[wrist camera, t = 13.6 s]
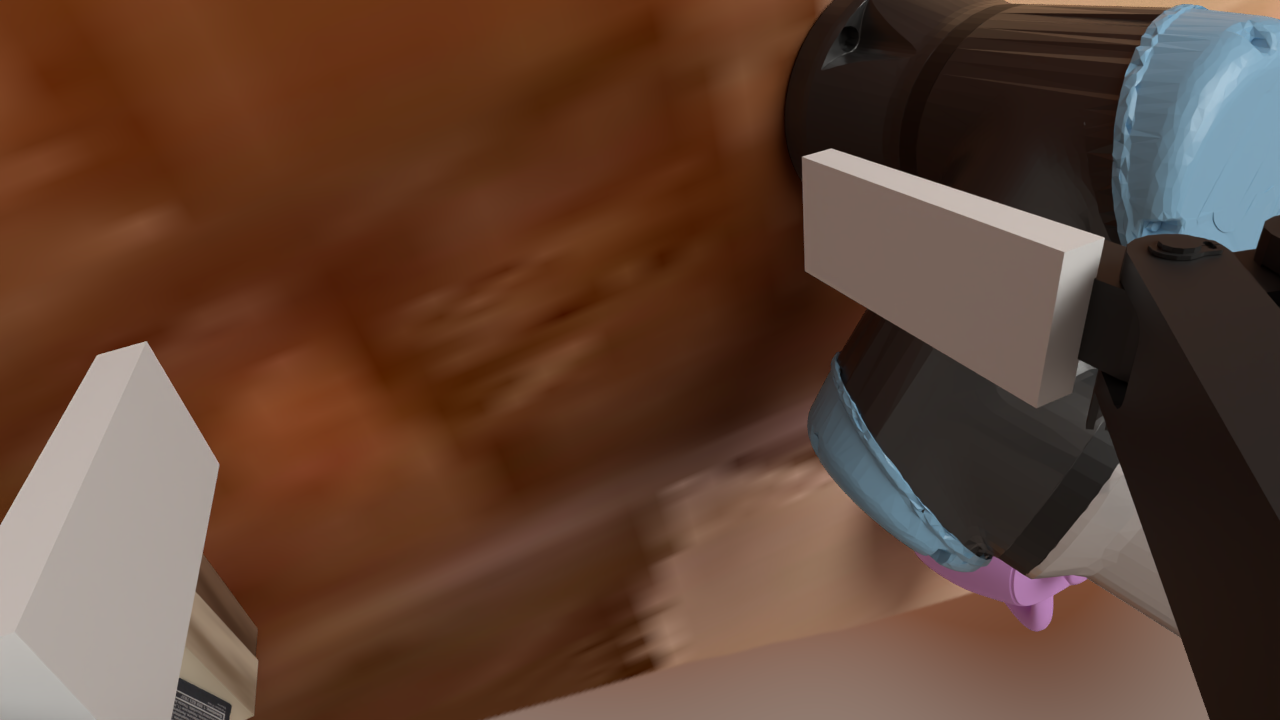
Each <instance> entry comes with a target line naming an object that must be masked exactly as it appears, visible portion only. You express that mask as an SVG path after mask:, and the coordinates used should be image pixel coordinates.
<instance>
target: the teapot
mask: <svg viewBox="0 0 1280 720" xmlns="http://www.w3.org/2000/svg"><path fill="white" fill-rule="evenodd" d="M914 552H915V553H916V555H917V556H918V557H919V558H920V559H921V560H922V561H923V562H924V563H925V564H926V565H927V566H928V567H929V568H931V569H932V570H934V571H935V572H936V573H938V574H939V575H941V576H943V577H944V578H946V579H947V580H949V581H951V582H952V583H954V584H956V585H958V586H960V587H962V588H964V589H966V590H969V591H971V592H974V593H977V594H979V595H983V596H986V597H989V598H992V599H995V600H998V601H1002V602H1005V604H1006V605H1007V606H1008V608H1009V609H1010V610H1011V612H1012V613H1013V614H1014V615H1015V616H1016V618H1017V619H1018V620H1019V621H1020V622H1021V623H1022V624H1023V625H1024V626H1026V627H1027V628H1028V629H1030V630H1033V631H1040V630H1043V629H1045V628H1046V627H1047V626H1048V625H1049V623H1050V621H1051V618H1052V614H1053V595H1055V594H1056V593H1058V592H1060V591H1061V590H1063V589H1065V588H1067V587H1068V586H1070V585H1076V584H1079V583H1081V582H1083V581H1085V580H1086V579H1087V578H1086V577H1081V576H1075V575H1068V576H1059V577H1049V578H1040V579H1030V578H1028V577H1026V576H1024V575H1023V574H1021V573H1020V572H1018V571H1017V570H1015V569H1014V568H1012V567H1011V566H1009V565H1008V564H1006V563H1005V562H1003V561H1002V560H1000V559H999V558H996V557H994V556H993V558H992V560H991V562H990V563H989V564H988V565H987V566H985V567H980V568H979V569H977V570H976V571H974V572H958V571H954V570H951V569H948V568H946V567H944V566H941V565H940V564H938V563H937V562H936V561H935V560H934V559H933V558H931V557H930V556H929V555H927V556H923V555H921V554H919V553H917V552H916V551H914Z"/></svg>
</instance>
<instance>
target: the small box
mask: <svg viewBox="0 0 1280 720" xmlns="http://www.w3.org/2000/svg"><path fill="white" fill-rule="evenodd" d="M231 709H232V705H231V704H230V703H228V702H226V701H224V700H222V699H220V698H218V697H216V696H215V695H213V694H211V693H209V692H207V691H205V690H203V689H201V688H199V687H197V686H195V685H193V684H191V683H189V682H187V681H185V680H183V679H181V678H179V680H178V685H177V691H176V696H175V701H174V707H173V712H172V717H171V720H229V719H230V713H231Z"/></svg>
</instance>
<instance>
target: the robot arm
mask: <svg viewBox="0 0 1280 720" xmlns="http://www.w3.org/2000/svg"><path fill="white" fill-rule="evenodd" d="M785 131H786V140H787V145H788V150H789V154H790V157H791V160H792V163H793V166H794V168H795V170H796V172H797V174H798V176H799V178H800V179H801V181H802V183H803V221H804V259H805V272H807V273H809V274H811V275H812V276H814V277H816V278H817V279H819V280H821V281H822V282H824V283H826V284H827V285H829V286H831V287H832V288H834V289H836V290H837V291H839V292H841V293H843V294H844V295H846V296H848V297H849V298H851V299H853V300H854V301H856V302H858V303H859V304H861V305H863V306H864V307H866V308H867V309H866V311H865V313H864V314H863V316H862V318H861V319H860V321H859V323H858V324H857V326H856V328H855V329H854V331H853V333H852V334H851V336H850V338H849V339H848V341H847V343H846V345H845V346H844V348H843V350H842V351H841V352H837V353H836V354H835V356H834V357H833V359H832V361H831V370H830V372H829V374H828V376H827V378H826V380H825V382H824V384H823V386H822V388H821V390H820V391H819V393H818V395H817V397H816V399H815V401H814V403H813V405H812V407H811V409H810V412H809V415H808V424H807V426H808V435H809V439H810V442H811V445H812V447H813V449H814V451H815V453H816V454H817V456H818V457H819V459H820V462H821V464H822V465H823V467H824V468H825V469H826V471H827V472H828V473H829V475H830V476H831V477H832V478H833V480H834V481H835V482H836V483H837V484H838V486H839V487H840V488H841V489H842V490H843V491H844V492H845V493H846V494H847V495H848V496H849V497H850V498H851V499H852V500H853V502H855V503H856V504H857V505H858V506H859V507H860V508H861V509H862V510H863V511H864V512H865V513H866V514H867V515H869V516H870V517H871V518H872V519H873V520H874V521H875V522H877V523H878V524H879V525H880V526H881V527H883V528H884V529H885V530H886V531H888V532H889V533H890V534H892V535H893V536H894V537H895V538H897V539H898V540H899V541H901V542H902V543H904V544H905V545H907V546H908V547H909V548H911V549H913V550H914V551H916V552H917V553H919V554H921V555H923V556H927V555H929V556H930V557H931V558H933V559H934V560H935V561H936V562H937V563H938V564H940V565H941V566H944V567H946V568H948V569H951V570H954V571H958V572H974V571H976V570H977V569H979V568H980V567H985V566H987V565H988V564H989V563H990V562H991V560H992V558H993V556H994V557H996V558H999V559H1000V560H1002V561H1003V562H1005V563H1006V564H1008V565H1009V566H1011V567H1012V568H1014V569H1015V570H1017V571H1018V572H1020V573H1021V574H1023V575H1024V576H1026V577H1028V578H1030V579H1040V578H1049V577H1059V576H1068V575H1075V576H1081V577H1086V578H1087V579H1089V580H1091V581H1092V582H1094V583H1095V584H1097V585H1099V586H1100V587H1102V588H1103V589H1105V590H1107V591H1108V592H1110V593H1111V594H1113V595H1114V596H1116V597H1117V598H1119V599H1121V600H1122V601H1124V602H1126V603H1127V604H1128V605H1130V606H1132V607H1133V608H1135V609H1137V610H1138V611H1140V612H1141V613H1143V614H1144V615H1146V616H1147V617H1149V618H1151V619H1152V620H1154V621H1155V622H1157V623H1159V624H1160V625H1162V626H1163V627H1165V628H1166V629H1168V630H1170V631H1171V632H1173V633H1174V634H1176V635H1177V636H1179V637H1181V639H1182V642H1183V645H1184V647H1185V650H1186V653H1187V656H1188V659H1189V662H1190V665H1191V667H1192V670H1193V673H1194V676H1195V679H1196V682H1197V685H1198V687H1199V690H1200V693H1201V696H1202V699H1203V702H1204V705H1205V707H1206V710H1207V713H1208V716H1209V719H1210V720H1280V20H1279V19H1276V18H1272V17H1266V16H1258V15H1250V14H1241V13H1232V12H1223V11H1214V10H1208V9H1206V8H1204V7H1203V6H1199V5H1193V4H1181V5H1176V6H1174V7H1172V8H1162V7H1122V6H1082V5H1043V4H1010V3H1008V2H1006V1H1004V0H834V1H833V2H832V3H831V4H830V5H829V6H828V7H827V9H826V10H825V11H824V12H823V13H822V15H821V16H820V17H819V19H818V20H817V21H816V23H815V24H814V26H813V28H812V29H811V31H810V32H809V34H808V36H807V38H806V39H805V41H804V43H803V45H802V48H801V50H800V52H799V54H798V57H797V59H796V62H795V65H794V68H793V71H792V74H791V78H790V82H789V86H788V92H787V98H786V106H785ZM218 469H219V463H218V461H217V459H216V458H215V456H214V454H213V453H212V451H211V449H210V448H209V446H208V444H207V442H206V441H205V439H204V437H203V436H202V434H201V432H200V431H199V429H198V427H197V426H196V424H195V422H194V420H193V419H192V417H191V415H190V414H189V412H188V410H187V409H186V407H185V405H184V404H183V402H182V400H181V399H180V397H179V395H178V393H177V392H176V390H175V388H174V387H173V385H172V383H171V382H170V380H169V378H168V377H167V375H166V373H165V371H164V370H163V368H162V366H161V365H160V363H159V361H158V360H157V358H156V356H155V355H154V353H153V351H152V349H151V348H150V346H149V344H148V343H147V341H146V342H142V343H139V344H135V345H132V346H128V347H125V348H121V349H118V350H114V351H110V352H107V353H103V354H100V355H97V356H96V358H95V360H94V362H93V363H92V365H91V367H90V369H89V370H88V372H87V374H86V376H85V377H84V379H83V381H82V383H81V384H80V386H79V388H78V390H77V391H76V393H75V395H74V397H73V399H72V400H71V402H70V404H69V406H68V407H67V409H66V411H65V413H64V414H63V416H62V418H61V420H60V421H59V423H58V425H57V427H56V428H55V430H54V432H53V434H52V435H51V437H50V439H49V441H48V442H47V444H46V446H45V448H44V449H43V451H42V453H41V455H40V457H39V458H38V460H37V462H36V464H35V465H34V467H33V469H32V471H31V472H30V474H29V476H28V478H27V479H26V481H25V483H24V485H23V486H22V488H21V490H20V492H19V493H18V495H17V497H16V499H15V500H14V502H13V504H12V506H11V507H10V509H9V511H8V513H7V514H6V516H5V518H4V520H3V522H2V523H1V525H0V720H171V717H172V712H173V707H174V701H175V696H176V691H177V685H178V680H179V675H180V670H181V664H182V659H183V654H184V649H185V643H186V638H187V633H188V627H189V622H190V617H191V612H192V606H193V601H194V596H195V590H196V585H197V580H198V575H199V569H200V564H201V559H202V554H203V548H204V543H205V538H206V532H207V527H208V522H209V517H210V511H211V506H212V501H213V496H214V490H215V485H216V480H217V474H218Z"/></svg>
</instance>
